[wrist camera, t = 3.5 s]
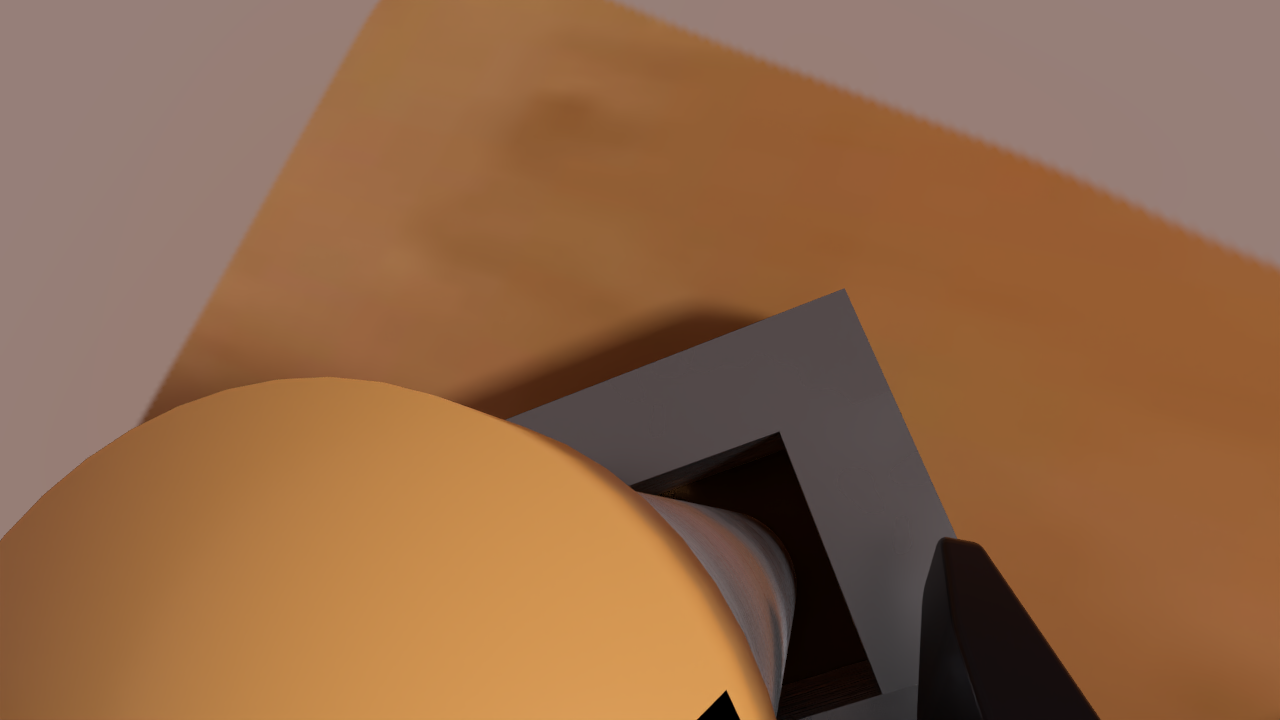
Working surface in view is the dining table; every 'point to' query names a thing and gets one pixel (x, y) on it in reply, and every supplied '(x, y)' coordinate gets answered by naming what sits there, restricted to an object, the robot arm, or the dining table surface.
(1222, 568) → the dining table surface
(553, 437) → the pin collar
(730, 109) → the dining table surface
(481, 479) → the pin
